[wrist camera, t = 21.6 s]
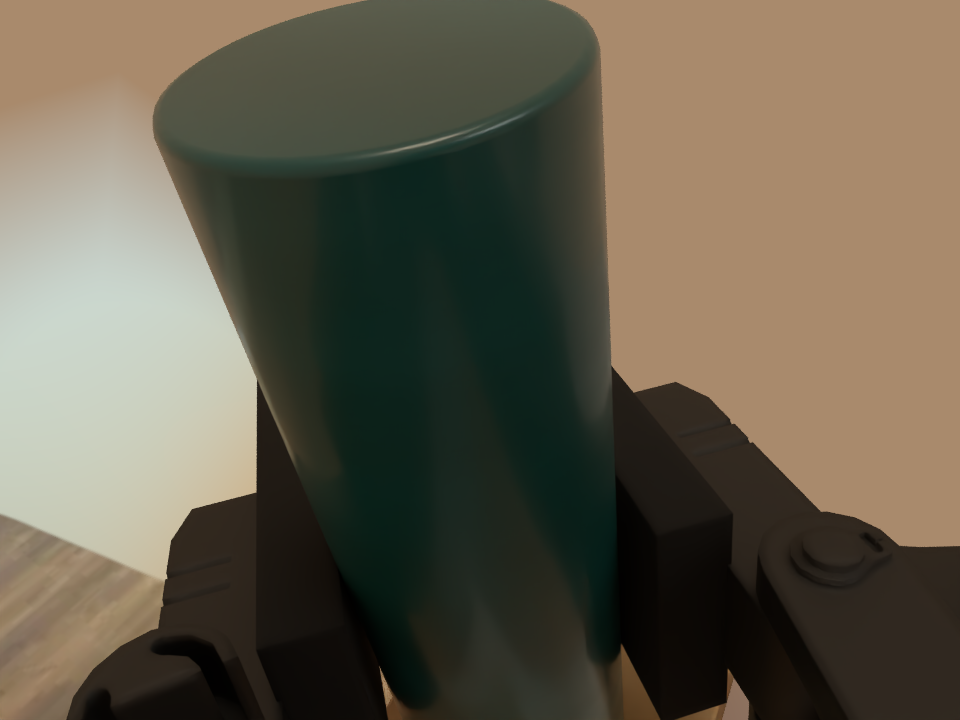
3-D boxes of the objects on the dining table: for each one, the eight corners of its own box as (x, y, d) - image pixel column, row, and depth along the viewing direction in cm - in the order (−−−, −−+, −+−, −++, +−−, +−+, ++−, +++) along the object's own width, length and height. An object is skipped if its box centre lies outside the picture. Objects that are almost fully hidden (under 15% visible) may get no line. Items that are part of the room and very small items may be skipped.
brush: (512, 608, 17) (379, -82, 8) (735, 692, 15) (857, -100, 6) (309, 998, 12) (-470, 333, 4) (595, 1200, 10) (345, 760, 2)
